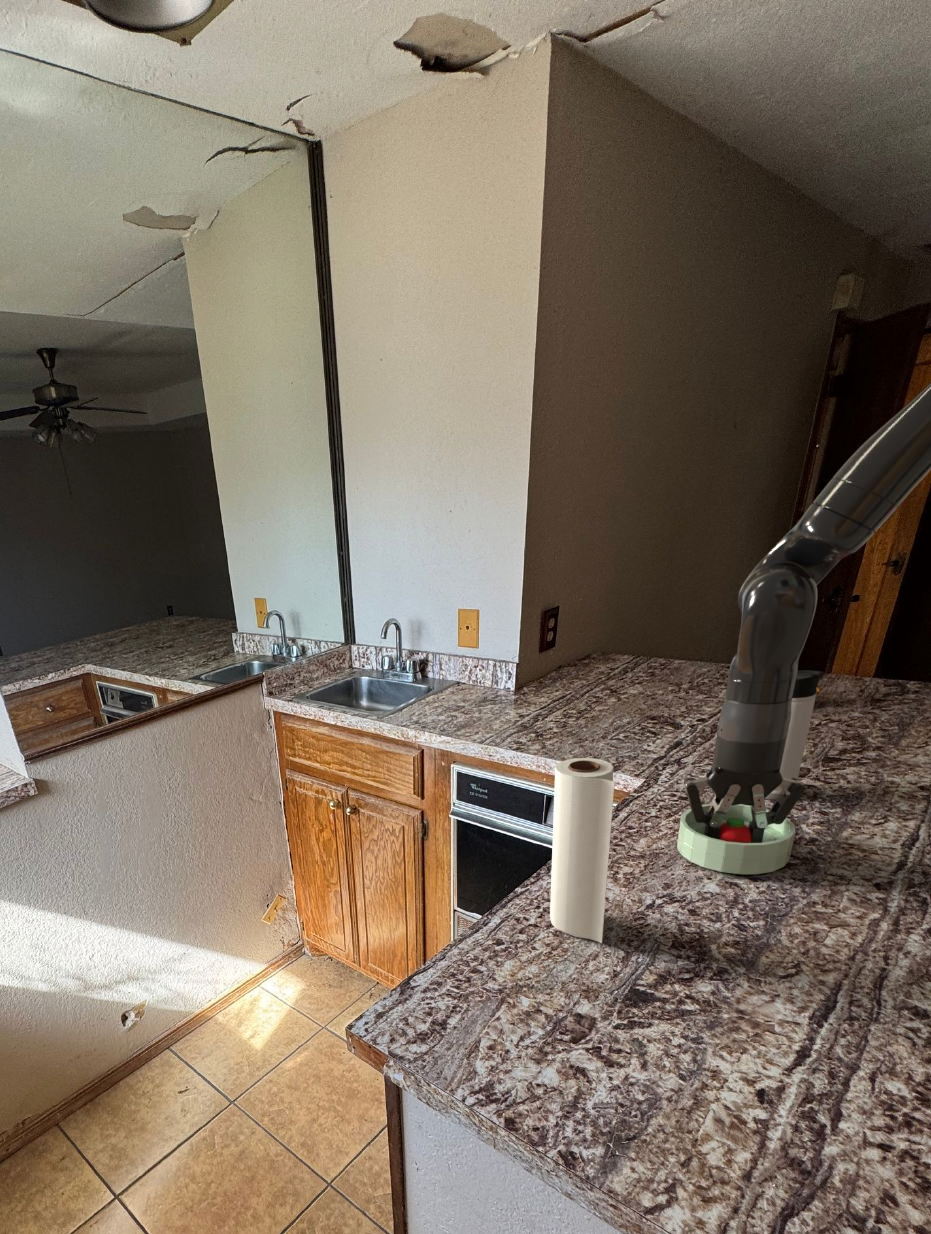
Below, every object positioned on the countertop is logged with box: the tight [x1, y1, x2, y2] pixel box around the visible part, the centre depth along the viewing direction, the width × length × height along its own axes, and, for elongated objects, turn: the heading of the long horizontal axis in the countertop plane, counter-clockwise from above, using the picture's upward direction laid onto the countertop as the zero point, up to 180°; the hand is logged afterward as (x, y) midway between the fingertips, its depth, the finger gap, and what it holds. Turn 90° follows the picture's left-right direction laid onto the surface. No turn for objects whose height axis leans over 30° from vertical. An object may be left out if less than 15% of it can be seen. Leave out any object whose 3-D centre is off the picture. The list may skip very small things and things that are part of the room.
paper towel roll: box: [549, 757, 616, 944], centre depth 77 cm, size 7×6×21 cm
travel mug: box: [765, 669, 824, 801], centre depth 101 cm, size 6×7×20 cm
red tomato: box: [719, 818, 752, 843], centre depth 90 cm, size 4×4×5 cm
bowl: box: [676, 803, 796, 875], centre depth 90 cm, size 13×13×5 cm
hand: (731, 847), depth 91 cm, fingers closed on red tomato, 4 cm apart
